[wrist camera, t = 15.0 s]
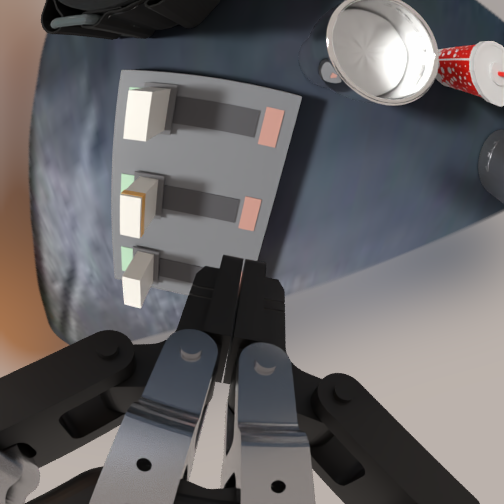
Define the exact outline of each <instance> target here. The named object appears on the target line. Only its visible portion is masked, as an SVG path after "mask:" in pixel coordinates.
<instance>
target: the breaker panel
mask: <svg viewBox="0 0 504 504" xmlns="http://www.w3.org/2000/svg"><path fill="white" fill-rule="evenodd" d="M145 82H149V83H161V84H171V85H179V86H178V91H177V97H176V103H175V109H174V115H173V121H172V128H171V135H164V134H157V135H156V136H154V137H152V138H151V139H149V140H147V141H138V140H130V139H123V136H124V125H125V115H126V107H127V99H128V91H129V90H133V89H139V88H144V85H145ZM301 99H302V96H299V95H296V94H292V93H289V92H285V91H281V90H276V89H272V88H268V87H263V86H259V85H254V84H249V83H244V82H238V81H233V80H227V79H221V78H215V77H208V76H201V75H193V74H184V73H175V72H164V71H150V70H121V76H120V83H119V90H118V98H117V107H116V117H115V127H114V141H113V157H112V192H111V209H112V244H113V261H114V275H115V278H116V279H119V280H122V276H123V274H124V272H125V271H126V269H127V267H128V266H129V264H130V262H131V261H132V259H133V246H136V247H141V248H146V249H150V250H155V251H159V276H158V285H155V284H152V285H151V287H153V288H157V289H161V290H166V291H170V292H175V293H179V294H184V295H189V292H190V290H191V287H192V284H193V281H194V278H195V276H196V273H197V272H199V271H200V270H201V269H202V268H203V267H204V266H210V267H215V268H220V264H221V261H222V257H223V254H224V255H229V256H234V257H239V258H244V260H243V266H242V272H243V267H244V263H245V259H250V260H255V261H257V260H258V256H259V253H260V249H261V245H262V242H263V238H264V235H265V231H266V227H267V224H268V220H269V217H270V213H271V209H272V206H273V202H274V199H275V195H276V191H277V188H278V184H279V180H280V177H281V173H282V169H283V166H284V162H285V159H286V155H287V151H288V148H289V144H290V140H291V136H292V133H293V129H294V125H295V122H296V118H297V114H298V111H299V107H300V103H301ZM135 171H138V172H145V173H151V174H157V175H163V176H165V182H164V192H163V203H162V215H161V220H160V219H155V218H153V219H152V221H151V222H150V224H149V225H148V227H147V228H146V230H145V231H144V234H143V235H142V237H140V239H139V238H134V237H130V236H125V235H120V194H121V192H122V191H124V190H126V189H127V188H128V187H129V186H130V185H131V184H132V183H133V182H134V173H135ZM242 272H241V276H242ZM240 281H241V279H240ZM239 286H240V285H239Z"/></svg>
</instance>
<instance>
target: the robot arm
mask: <svg viewBox="0 0 504 504" xmlns="http://www.w3.org/2000/svg"><path fill="white" fill-rule="evenodd" d="M478 171H479V177H480V180H481V183H482V185H483V187H484V188H485V189H486V190H487V191H488V192H489V193H490V194H492V195H493V196H494V197H495V198H497V199H498V200H499V201H501V202H502V203H503V204H504V130H502V129H501V130H497V131H495V132H493V133H492V134H491V135H490V136H489V137H488V138H487V139H486V141H485V142H484V144H483V147H482V149H481V152H480V156H479V163H478ZM243 260H244V258H239V257H234V256H229V255H224V254H223V257H222V261H221V264H220V268H215V267H210V266H204V267H203V268H202V269H201V270H200V271H199V272H197V273H196V276H195V278H194V281H193V284H192V287H191V290H190V292H189V295H188V298H187V301H186V304H185V307H184V310H183V313H182V316H181V319H180V322H179V325H178V327H177V330H176V331H175V333H173V334H172V335H170V336H169V338H168V339H167V340H165V341H163V342H160V343H156V344H141V345H133V344H132V342H131V340H130V339H129V338H128V337H127V336H126V335H124V334H123V333H121V332H118V331H113V330H104V331H100V332H97V333H95V334H93V335H91V336H89V337H86V338H84V339H82V340H80V341H78V342H76V343H74V344H72V345H70V346H67V347H65V348H63V349H61V350H59V351H57V352H55V353H53V354H50V355H49V356H46V357H44V358H42V359H40V360H38V361H36V362H33V363H31V364H29V365H27V366H25V367H23V368H21V369H18V370H16V371H14V372H12V373H10V374H8V375H6V376H4V377H1V378H0V504H24V502H25V499H26V497H27V496H28V495H29V494H30V493H31V492H33V491H34V490H35V489H36V488H37V486H38V484H39V480H40V472H39V468H40V467H42V466H44V465H46V464H48V463H50V462H52V461H54V460H56V459H58V458H60V457H62V456H64V455H66V454H68V453H70V452H72V451H74V450H76V449H77V448H79V447H81V446H83V445H85V444H87V443H88V442H90V441H92V440H94V439H96V438H97V437H99V436H101V435H103V434H105V433H107V432H108V431H110V430H112V429H113V428H115V427H117V426H119V425H120V428H119V430H118V432H117V435H116V437H115V439H114V442H113V444H112V447H111V449H110V452H109V454H108V456H107V459H106V461H105V464H104V466H103V467H98V468H94V469H90V470H88V471H85V472H83V473H81V474H79V475H78V476H76V477H74V478H72V479H70V480H69V481H67V482H65V483H63V484H61V485H60V486H58V487H56V488H54V489H52V490H50V491H49V492H47V493H45V494H43V495H41V496H39V497H37V498H35V499H33V500H31V501H29V502H27V503H25V504H315V494H314V484H313V474H312V469H313V470H314V471H315V472H316V473H317V474H318V475H319V476H320V478H322V480H323V481H324V482H325V483H326V484H327V485H328V486H329V487H330V488H331V490H332V491H333V492H334V493H335V494H336V495H337V496H338V497H339V498H340V499H341V500H342V501H343V502H344V503H345V504H480V503H479V501H478V500H477V499H476V498H475V497H474V496H473V495H472V494H471V493H470V492H469V491H468V490H467V489H465V487H463V485H461V484H460V483H459V482H458V481H457V480H456V479H455V478H454V477H453V476H452V475H451V474H450V473H449V472H448V471H447V470H446V469H445V468H444V467H443V466H442V465H441V464H440V463H439V462H438V461H437V460H436V459H435V458H434V457H433V456H432V455H431V454H430V453H429V452H428V451H427V450H426V449H425V448H424V447H423V446H422V445H421V444H420V443H419V442H418V441H417V440H416V439H415V438H414V437H413V436H412V435H411V434H410V433H409V432H408V431H406V430H405V428H403V426H402V425H401V424H400V423H399V422H397V420H396V419H394V417H393V416H392V415H391V414H390V413H389V412H388V411H387V410H386V409H385V408H384V407H383V406H382V405H380V403H379V402H378V401H377V400H376V399H375V398H373V396H372V395H371V394H370V393H369V392H368V391H367V390H366V389H365V388H364V387H363V386H362V385H361V384H360V383H359V382H358V381H357V380H356V379H354V378H353V377H351V376H349V375H346V374H342V373H334V374H330V375H328V376H326V377H325V378H323V379H320V378H318V377H315V376H313V375H310V374H308V373H305V372H303V371H301V370H300V369H298V368H297V367H296V366H295V365H293V363H292V362H291V361H290V359H289V357H288V355H287V353H286V348H285V304H284V302H285V296H284V289H283V287H282V285H281V284H280V282H279V280H277V279H272V278H266V277H265V276H266V263H265V262H260V261H255V260H250V259H245V263H244V267H243V272H242V266H243ZM241 272H242V276H241ZM240 279H241V281H240ZM239 285H240V286H239ZM227 354H228V356H227ZM226 358H227V362H226ZM225 363H226V368H225V375H224V382H223V383H227V384H230V389H229V396H228V400H227V404H226V416H225V438H224V458H223V465H222V474H221V489H206V488H203V487H200V486H198V485H196V484H193V483H191V482H189V477H190V473H191V470H192V465H193V461H194V457H195V453H196V449H197V445H198V441H199V438H200V434H201V431H202V427H203V423H204V419H205V415H206V412H207V409H208V405H209V402H210V400H211V399H212V396H213V391H214V386H215V382H220V383H221V380H222V376H223V371H224V367H225Z"/></svg>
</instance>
